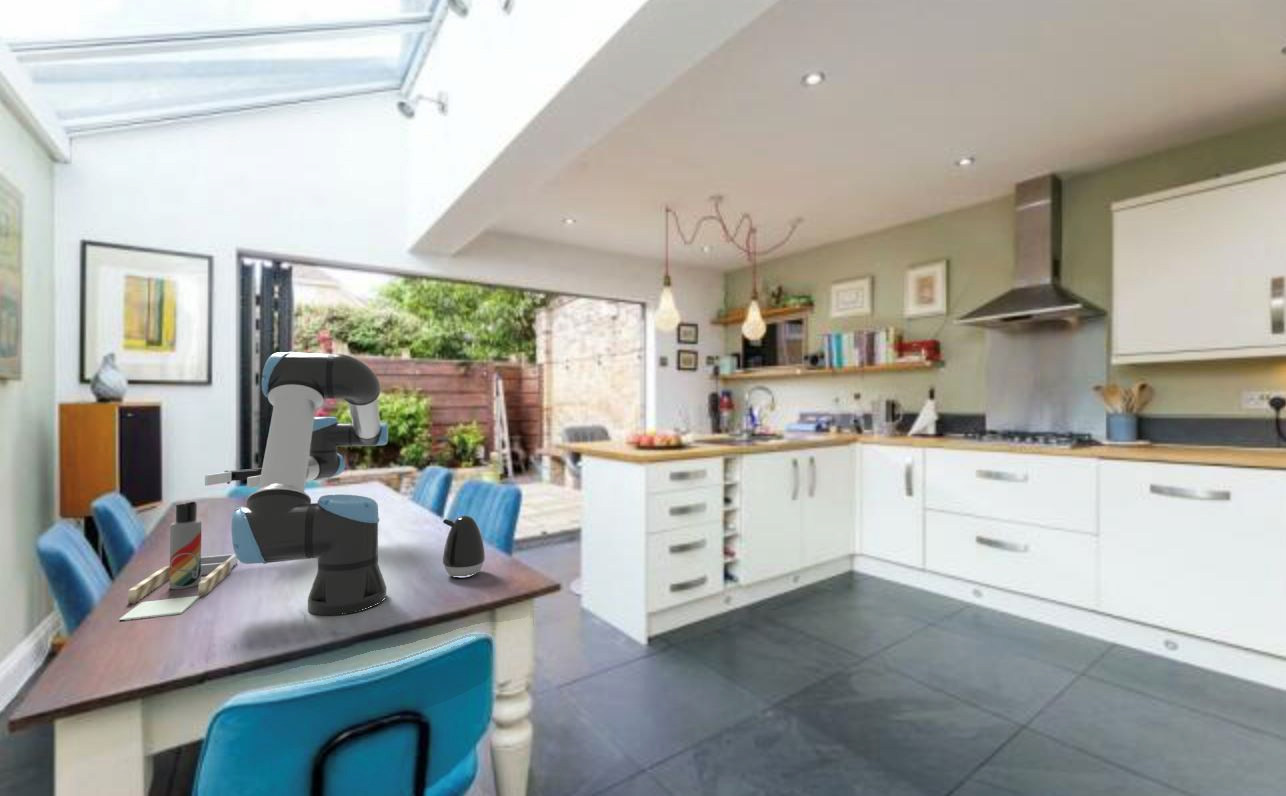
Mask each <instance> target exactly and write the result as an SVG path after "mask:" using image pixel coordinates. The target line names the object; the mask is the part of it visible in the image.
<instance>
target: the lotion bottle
mask: <svg viewBox="0 0 1286 796" xmlns="http://www.w3.org/2000/svg"><path fill="white" fill-rule="evenodd" d="M197 505H198V503H197V501H187V502H183V503H180V504H179V503H178V504H175V522H172V523H170V526H169V527H170V528H169V531H170V532H169V541H170V542H169V566H170V579H169V588H170V589H172V590H182V589H188V588H192V587H196V586H199V582H200V581H202V580H201V579H202V578H201V577H202V575H201V557H202V521H201V520H199V519H197V517H198V516H197V513H198V511H197V510H198V509H197V508H198V507H197Z"/></svg>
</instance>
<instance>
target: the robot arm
mask: <svg viewBox="0 0 1286 796" xmlns="http://www.w3.org/2000/svg"><path fill="white" fill-rule="evenodd" d="M261 390H262V393H263V396H264V397H266V398H267V399H268V402H269V404H270V405H272V406H273V407H272V408H273V409H272V415H271V419H270V424H269V431H268V435H267V436H268V437H267V440H266V447H265V451H264V457H263V462H262V466H261V467H258V468H249V469H237V470H236V469H233V470H224V472H219V473H217V472H216V473H212V474H210V473H209V474H205V475H204V486H213V485H220V484H225V483H226V484H231V482H232V481H233V482H234V481H236V482H237V481H247V482H246V488H247V489H252V488H257V490H255V491H253V492H252V493H251V494H250V495H249V496H248V497H247V500H246V505H245V506H240V507H237V508H235V509H234V511H233V512H232V516H231V527H230V528H231V529H230V530H231V541H232V546H233V547H232V548H233V551H234V554H235V555H236V557H237V561H238V562H240V563H242V564H246V565H250V564H251V565H252V564H263V565H265V564H271V563H278V562H279V563H280V562H289V561H301V560H309V559H310V560H311V559H317V573H316V575H315V578H314V581H313V583H312V586H311V589H310V592H309V594H308V597H307V611H308V612H310V613H312V614H314V615H320V616H337V615H336V614H341V615H345V614H344V613H348V614H352V613H351V612H354V613H356V612H355V611H358V612H360V611H359V610H362V609H365V608H368V607H370V606H373V605H375V604H377V603H379V602H381V601H382V600H383V599H384V598H385V597H386V598H387V586H386V583H385V580H384V577H383V573H382V571H381V568H380V565H379V523H380V517H379V505H378V503H377V501H376V500H374V499H373V498H371V497H367V496H365V495H364V496H363V495H358V494H357V495H354V494H326V495H325V494H324V495H322V496H320V497H319V499H318V500H317V502H316V503H312V498H311V497H310V495H309V494H307V492H305V490H306V484H307V482H312V481H313V482H314V481H318V480H324V479H325V480H326V479H330V478H333V477H337V476H339V475H341V474H342V473H343V472H344V470H345V468H346V461H345V459H344V457H343V455H342V454H340V453H338V447H377V446H385V445H387V444H388V441H389V425H388V423H387V422H381V419H380V411H379V402H378V398H379V396H380V393H381V385H380V381H379V378H378V376H377V375H376V374H375V372H374V371H373V370H372V369H371V368H370V367H369V366H368V365H367V364H365V363H364V362H363V361H360V360H359V359H357V358H355V357H352V356H350V355H347V354H344V353H343V354H342V353H319V352H317V353H316V352H310V353H309V352H296V351H288V352H283V351H282V352H281V351H280V352H275V353H273V354H271V355H270V356H269V357H268V358H267V359H266V361H265V364H264V367H263V370H262V379H261ZM325 399H327V400H328V399H343V400H345V402H346V403H347V405H348V409H349V414H350V418H351V422H339V421H338V418H337V417H336V416H315V415H316V411H317V410H320V408H321V407H323V405H324V400H325ZM362 611H363V610H362ZM342 613H343V614H342Z"/></svg>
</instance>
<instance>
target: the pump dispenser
mask: <svg viewBox="0 0 1286 796" xmlns="http://www.w3.org/2000/svg"><path fill="white" fill-rule="evenodd" d="M442 522H443V524H445V525H447V526H449V527H450V530H449V532H448V535H447V538H446V541H445V543H444V544H445V545H444V549H443V555H442V556H443V557H442V564H443V566H444V569H445V571H446V573H447V574H448V575H449V576H450V575H451V576H450V577H452V576H467V575H472V574H475V573H477V572H478V573H479V572H480V571H481V569H482V567H483V566H484V563H485V559H486V552H485V545H484V540H483V537H482V533H481V530H480V528H479V526H478V523H477V521H476V520H475V519H474V518H473V517H472V516H469V515H462V516H459V517H457V518H456V519H455V520H454V521H452V520H450V519H447V518H444V519H443V521H442ZM478 573H477V574H478Z"/></svg>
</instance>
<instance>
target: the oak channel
mask: <svg viewBox="0 0 1286 796" xmlns="http://www.w3.org/2000/svg"><path fill="white" fill-rule="evenodd" d="M230 573H231V569H230V561H224V562H223V563H222V564H221V565H219V566H218V567H217V568H216V569H215V570H214V571H212V572H211V573H210V574H208V575H205V577H204V578H203V579H202V580H201V581H200V582H199V584H198V595H197V596H200V597H205V596H206V595H207V594H209V592H211V591H212V590H213V589H214V588H215V587H216V586H217V585H218V584H219V583H221V581H223V580H224V579H225V578H226V577H227V576H228V575H229V574H230ZM168 580H170V565H167V566H163V567H162V568H160V569H158V570H157V571H156V572H154V573H152V574H151V575H149V576H148V577H146V578H145V579H143V580H142V581H140V582H138V583H137V584H135V585H134V586H133V587H131V588H130V589H128V596H127V597H128V599H127V600H128V603H133V604H136V602H137V601H138V602H139V601H141V600H143V599H144V598H145V597H147V596H148V595H149V594H150V593H152V592H153V591H155V590H156V589H157V588H159V587H160V586H162V585H163V584H165V583H166V582H167V581H168ZM154 589H155V590H154ZM151 591H152V592H151ZM147 594H148V595H147ZM144 596H145V597H144ZM143 597H144V598H143ZM140 599H141V600H140ZM138 602H137V603H138Z"/></svg>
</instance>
